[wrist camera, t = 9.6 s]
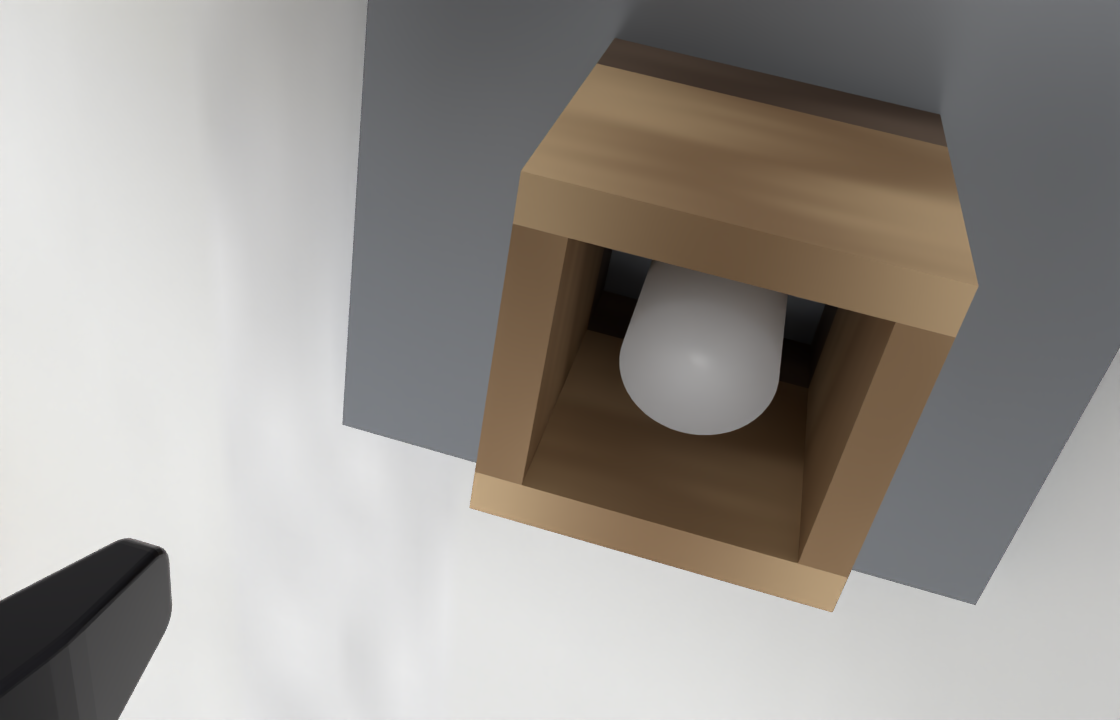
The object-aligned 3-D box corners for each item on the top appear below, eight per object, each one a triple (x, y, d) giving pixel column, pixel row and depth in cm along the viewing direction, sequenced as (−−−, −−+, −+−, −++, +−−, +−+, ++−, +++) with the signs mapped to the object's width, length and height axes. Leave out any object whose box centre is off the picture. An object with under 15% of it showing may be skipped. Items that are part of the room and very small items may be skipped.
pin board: (1349, -126, 15) (1602, -41, 10) (970, 571, 22) (1005, 816, 18) (410, -320, 16) (217, -330, 11) (359, 399, 24) (232, 580, 19)
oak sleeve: (939, 114, 17) (979, 286, 12) (836, 384, 20) (832, 612, 15) (614, 37, 17) (521, 171, 12) (562, 312, 20) (468, 507, 15)
